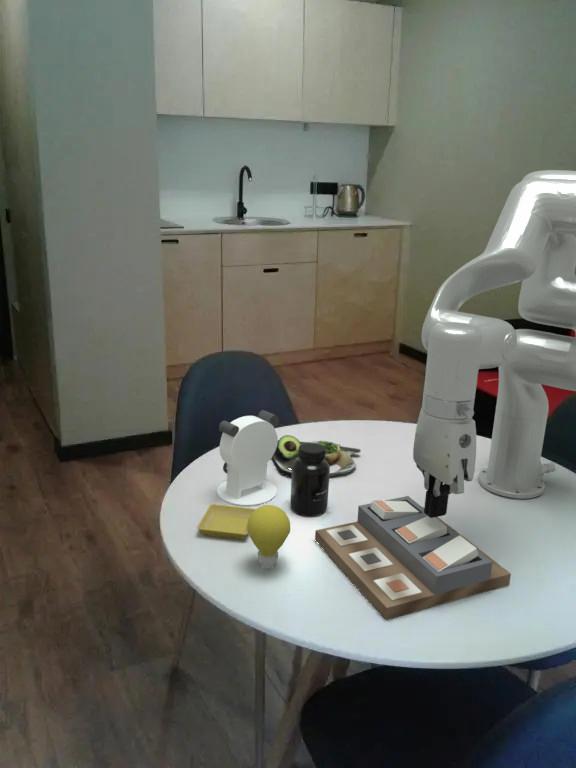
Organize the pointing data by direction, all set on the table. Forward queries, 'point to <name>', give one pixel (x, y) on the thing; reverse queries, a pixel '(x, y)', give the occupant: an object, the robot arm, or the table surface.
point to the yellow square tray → (225, 521)
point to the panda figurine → (248, 459)
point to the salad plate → (333, 455)
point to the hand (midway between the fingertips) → (434, 514)
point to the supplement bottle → (310, 480)
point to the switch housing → (423, 551)
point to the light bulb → (268, 533)
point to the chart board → (392, 572)
